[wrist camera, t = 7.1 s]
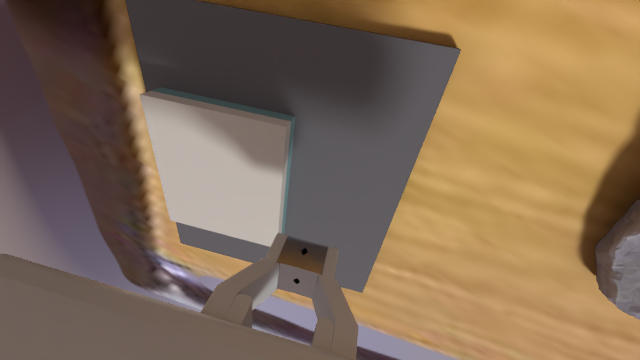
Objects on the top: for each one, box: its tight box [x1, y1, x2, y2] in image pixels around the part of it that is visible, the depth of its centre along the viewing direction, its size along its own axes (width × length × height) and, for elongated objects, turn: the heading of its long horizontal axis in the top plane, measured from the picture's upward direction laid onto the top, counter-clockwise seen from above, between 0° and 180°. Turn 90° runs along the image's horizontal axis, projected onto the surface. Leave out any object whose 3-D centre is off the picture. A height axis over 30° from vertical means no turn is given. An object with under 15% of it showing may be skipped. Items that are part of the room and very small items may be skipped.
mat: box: [125, 0, 461, 292], centre depth 17 cm, size 18×16×1 cm
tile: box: [140, 87, 295, 247], centre depth 16 cm, size 9×2×8 cm
